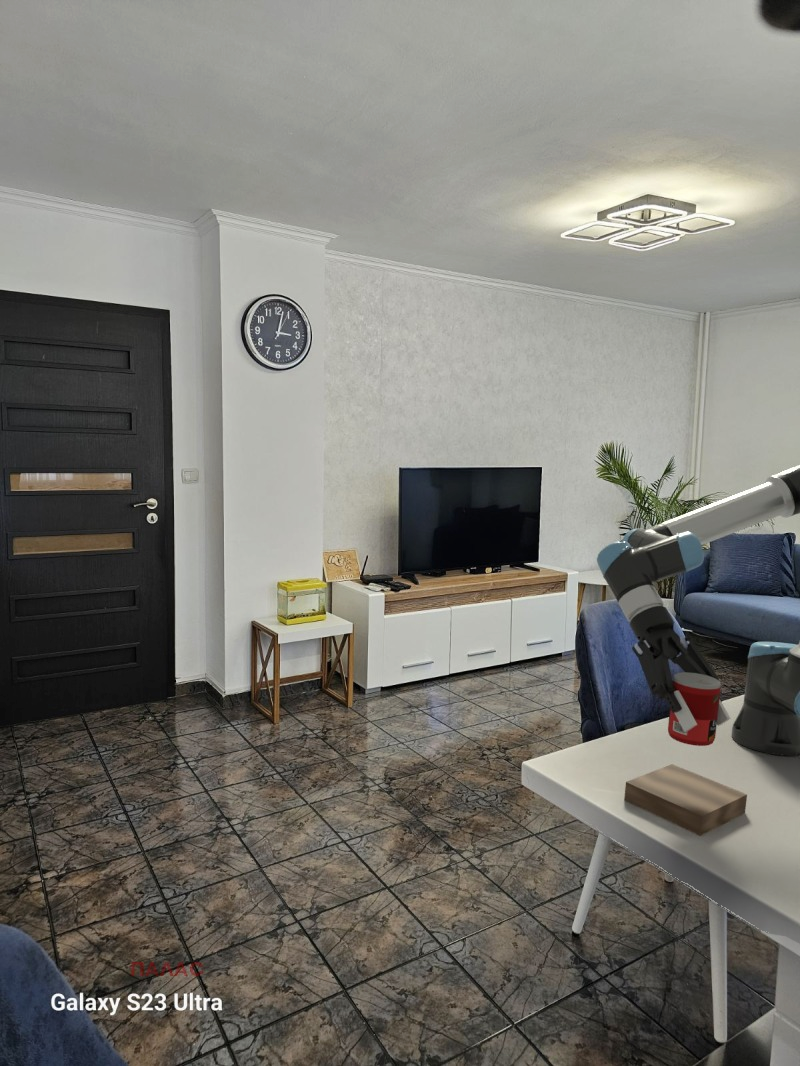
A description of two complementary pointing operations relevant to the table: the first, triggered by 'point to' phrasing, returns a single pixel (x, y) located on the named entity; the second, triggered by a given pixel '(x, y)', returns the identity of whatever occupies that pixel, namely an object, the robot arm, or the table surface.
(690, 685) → the canned food
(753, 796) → the table surface
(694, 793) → the walnut stand
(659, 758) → the table surface
